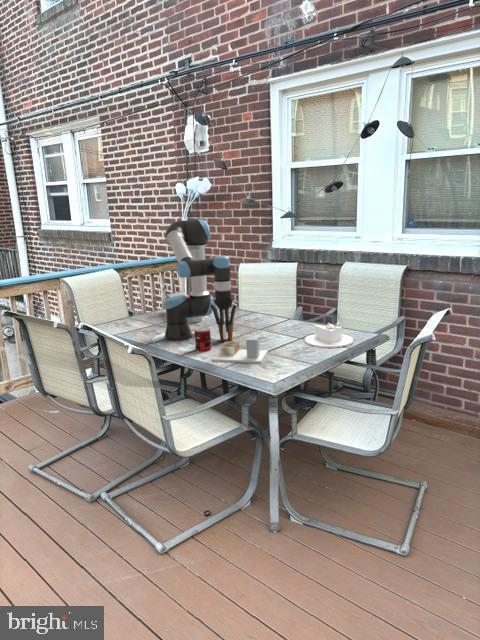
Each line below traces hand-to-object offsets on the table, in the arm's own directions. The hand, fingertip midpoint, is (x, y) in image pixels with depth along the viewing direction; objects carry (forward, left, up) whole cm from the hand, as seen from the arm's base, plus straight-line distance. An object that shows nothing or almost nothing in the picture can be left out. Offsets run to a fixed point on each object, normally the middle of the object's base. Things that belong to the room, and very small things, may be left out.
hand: (225, 338), depth 221 cm
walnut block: (0, +1, -7) cm, 7 cm away
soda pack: (-53, +78, -10) cm, 95 cm away
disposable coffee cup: (-9, +30, -10) cm, 33 cm away
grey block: (+13, +1, -9) cm, 16 cm away
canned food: (-16, +12, -10) cm, 22 cm away
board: (+6, +3, -10) cm, 12 cm away
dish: (+46, +34, -11) cm, 58 cm away
